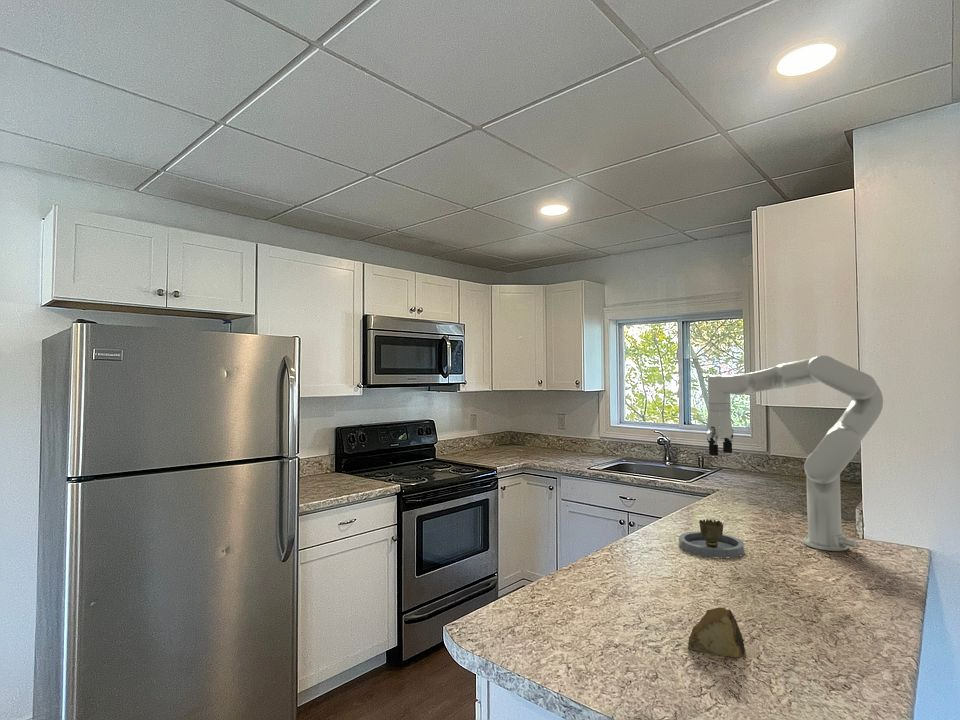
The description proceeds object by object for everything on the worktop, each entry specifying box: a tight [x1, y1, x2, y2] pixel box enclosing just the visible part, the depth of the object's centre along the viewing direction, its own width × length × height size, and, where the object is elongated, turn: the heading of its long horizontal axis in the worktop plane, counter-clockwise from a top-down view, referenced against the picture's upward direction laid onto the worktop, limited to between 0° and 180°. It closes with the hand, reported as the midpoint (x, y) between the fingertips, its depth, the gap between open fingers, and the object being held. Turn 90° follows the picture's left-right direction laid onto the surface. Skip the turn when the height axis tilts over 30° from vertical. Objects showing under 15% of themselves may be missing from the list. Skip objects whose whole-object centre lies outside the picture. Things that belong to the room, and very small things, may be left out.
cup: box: [698, 518, 724, 547], centre depth 175 cm, size 8×7×8 cm
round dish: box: [678, 531, 746, 559], centre depth 174 cm, size 20×20×3 cm
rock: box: [687, 607, 747, 659], centre depth 110 cm, size 11×9×10 cm
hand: (720, 454), depth 195 cm, fingers open, 9 cm apart
